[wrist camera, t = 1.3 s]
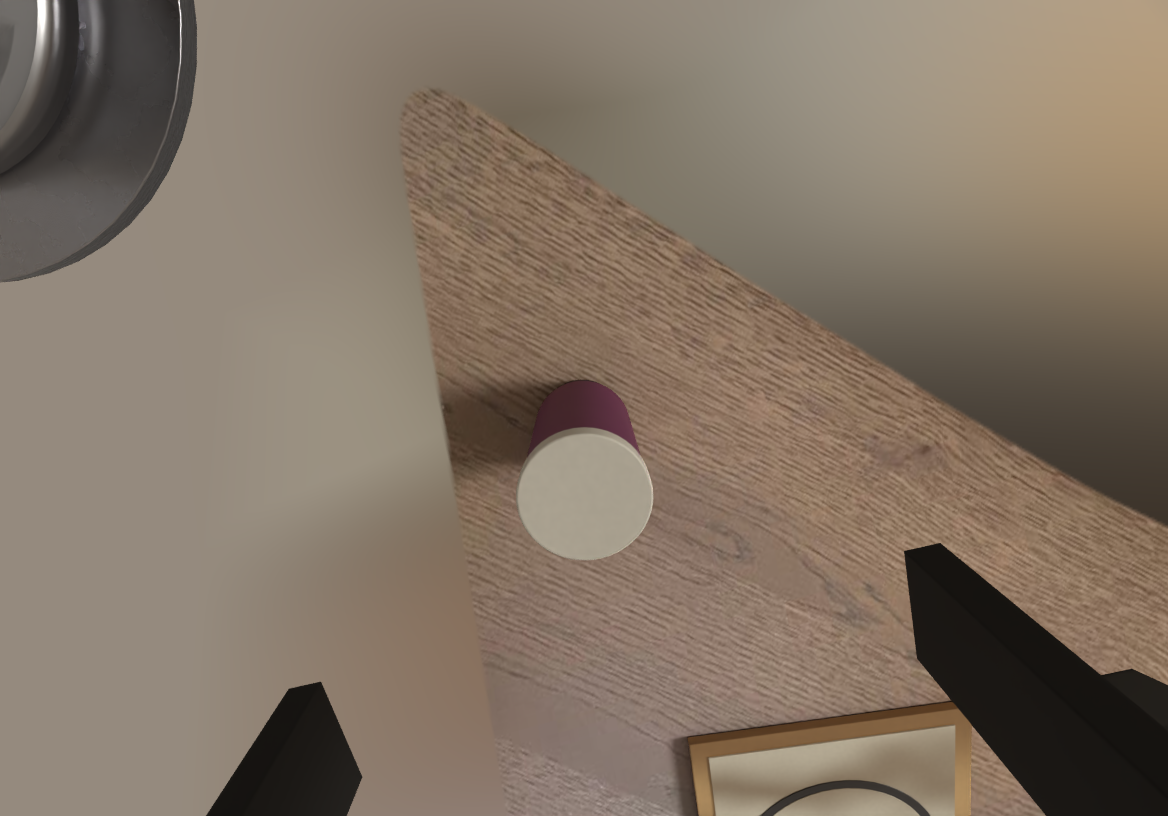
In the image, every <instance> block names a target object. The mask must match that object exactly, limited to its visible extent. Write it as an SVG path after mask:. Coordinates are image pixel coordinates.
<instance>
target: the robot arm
mask: <svg viewBox="0 0 1168 816" xmlns="http://www.w3.org/2000/svg"><path fill="white" fill-rule="evenodd" d="M78 42H79V10H78V1H77V0H0V174H1V173H3V172H5V171H7V170H8V169H10V168H11V167H13V166H14V165H16V164H17V163H19V162H20V161H21V160H22V159H24V158H25V157H26V156H27V155H28V154H29V153H31V152H32V151H33V150H34V149H35V148H36V146H37V145H38V144H39V143H40V142H41V141H42V140H43V139H44V138H45V136H46V135H47V133H48V132H49V130H50V129H51V128H52V126H53V125H54V123H55V121H56V119H57V118H58V116H59V114H60V112H61V110H62V108H63V106H64V103H65V101H66V98H67V96H68V93H69V91H70V87H71V83H72V80H73V76H74V72H75V67H76V61H77V55H78ZM904 554H905V563H906V571H907V579H908V587H909V596H910V604H911V612H912V621H913V629H914V637H915V645H916V654H917V659H918V660H919V661H920V663H921V664H922V665H923V666H924V667H925V669H926V670H927V671H928V672H929V674H930V675H931V676H932V677H933V678H934V680H935V681H936V682H937V683H938V684H939V686H940V687H941V688H942V689H943V691H944V692H945V693H946V694H947V695H948V697H949V698H950V699H951V700H952V702H953V703H954V704H955V705H956V706H957V708H958V709H959V710H960V711H961V712H962V714H963V715H964V716H965V717H966V719H967V720H968V721H969V722H970V723H971V725H972V726H973V727H974V728H975V730H976V731H977V732H978V733H979V734H980V736H981V737H982V738H983V739H984V740H985V742H986V743H987V744H988V745H989V747H990V748H991V749H992V750H993V751H994V753H995V754H996V755H997V756H998V758H999V759H1000V760H1001V761H1002V762H1003V764H1004V765H1005V766H1006V767H1007V768H1008V770H1009V771H1010V772H1011V773H1012V775H1013V776H1014V777H1015V778H1016V779H1017V781H1018V782H1019V783H1020V784H1021V786H1022V787H1023V788H1024V789H1025V790H1026V792H1027V793H1028V794H1029V795H1030V796H1031V798H1032V799H1033V800H1034V801H1035V803H1036V804H1037V805H1038V806H1039V807H1040V809H1041V810H1042V811H1043V812H1044V814H1045V815H1046V816H1168V685H1166V684H1164V683H1162V682H1160V681H1157V680H1155V679H1153V678H1151V677H1149V676H1147V675H1144V674H1142V673H1140V672H1138V671H1136V670H1133V669H1129V670H1124V671H1119V672H1114V673H1110V674H1105V675H1100V674H1099V673H1098V672H1096V671H1095V670H1094V669H1093V668H1092V667H1090V666H1089V665H1088V664H1087V663H1085V662H1084V661H1083V660H1082V659H1081V658H1079V657H1078V656H1077V655H1076V654H1075V653H1073V652H1072V651H1071V650H1070V649H1068V648H1067V647H1066V646H1065V645H1064V644H1062V643H1061V642H1060V641H1059V640H1058V639H1056V638H1055V637H1054V636H1053V635H1051V634H1050V633H1049V632H1048V631H1047V630H1045V629H1044V628H1043V627H1042V626H1040V625H1039V624H1038V623H1037V622H1036V621H1034V620H1033V619H1032V618H1031V617H1030V616H1028V615H1027V614H1026V613H1025V612H1023V611H1022V610H1021V609H1020V608H1019V607H1017V606H1016V605H1015V604H1014V603H1012V602H1011V601H1010V600H1009V599H1008V598H1006V597H1005V596H1004V595H1003V594H1002V593H1000V592H999V591H998V590H997V589H995V588H994V587H993V586H992V585H991V584H989V583H988V582H987V581H986V580H984V579H983V578H982V577H981V576H980V575H978V574H977V573H976V572H975V571H974V570H972V569H971V568H970V567H969V566H967V565H966V564H965V563H964V562H963V561H961V560H960V559H959V558H958V557H956V556H955V555H954V554H953V553H952V552H950V551H949V550H948V549H947V548H946V547H944V546H943V545H942V544H941V543H938V544H934V545H929V546H925V547H920V548H916V549H911V550H907V551H904ZM361 779H362V775H361V773H360V771H359V768H358V766H357V764H356V761H355V759H354V757H353V754H352V752H351V750H350V748H349V745H348V743H347V741H346V738H345V736H344V734H343V731H342V729H341V727H340V724H339V722H338V720H337V718H336V715H335V713H334V711H333V708H332V706H331V704H330V701H329V699H328V697H327V695H326V692H325V690H324V688H323V685H322V683H321V682H317V683H313V684H308V685H304V686H299V687H295V688H291V689H288V691H287V692H286V694H285V696H284V697H283V699H282V700H281V702H280V703H279V705H278V706H277V708H276V709H275V711H274V712H273V714H272V715H271V717H270V719H269V720H268V722H267V723H266V725H265V726H264V728H263V729H262V731H261V732H260V734H259V736H258V737H257V739H256V740H255V742H254V743H253V745H252V746H251V748H250V749H249V751H248V752H247V754H246V755H245V757H244V758H243V760H242V762H241V763H240V765H239V766H238V768H237V769H236V771H235V772H234V774H233V775H232V777H231V778H230V780H229V781H228V783H227V785H226V786H225V788H224V789H223V791H222V792H221V794H220V795H219V797H218V799H217V800H216V802H215V803H214V804H213V806H212V808H211V809H210V811H209V812H208V814H207V815H206V816H347V814H348V811H349V809H350V806H351V804H352V801H353V799H354V796H355V794H356V791H357V789H358V786H359V784H360V781H361Z"/></svg>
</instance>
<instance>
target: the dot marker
mask: <svg viewBox="0 0 1168 816" xmlns="http://www.w3.org/2000/svg"><path fill="white" fill-rule="evenodd" d="M516 504H517V510H518V513H519V517H520V519H521V522H522V524H523V526H524V527H525V529H526V531H527V532H528V533H529V534H530V536H531V537H532V538H533V539H534V540H535V541H536V542H537V543H538V544H539V545H541V546H542V547H543V548H545V549H546V550H548V551H550V552H552V553H554V554H556V555H559V556H561V557H565V558H568V559H574V560H595V559H600V558H604V557H607V556H610V555H613V554H615V553H617V552H619V551H621V550H622V549H624V548H625V547H627V546H628V545H629V544H631V543H632V542H633V541H634V540H635V539H636V538H637V537H638V536H639V534H640V533H641V532H642V530H643V529H644V527H645V525H646V523H647V522H648V519H649V517H650V514H651V510H652V505H653V487H652V482H651V478H650V475H649V472H648V469H647V467H646V464H645V462H644V461H643V459H642V457H641V455H640V452H639V449H638V445H637V442H636V439H635V435H634V432H633V428H632V425H631V422H630V418H629V415H628V412H627V409H626V407H625V405H624V403H623V402H622V400H621V399H620V398H619V397H618V396H617V395H616V393H614V392H613V391H612V390H611V389H609V388H607V387H606V386H603V385H601V384H599V383H597V382H594V381H589V380H576V381H571V382H569V383H566V384H564V385H562V386H560V387H558V388H557V389H555V390H554V391H553V392H551V393H550V394H549V395H548V396H547V398H546V399H545V400H544V401H543V403H542V405H541V406H540V409H539V411H538V414H537V418H536V422H535V426H534V430H533V434H532V438H531V442H530V447H529V451H528V455H527V459H526V461H525V462H524V465H523V467H522V469H521V472H520V476H519V479H518V483H517V490H516Z"/></svg>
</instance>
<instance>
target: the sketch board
mask: <svg viewBox="0 0 1168 816" xmlns="http://www.w3.org/2000/svg"><path fill="white" fill-rule="evenodd" d="M971 736H972V725H971V723H970V722H969V721H968V720H967V719H966V717H965V716H964V715H963V714H962V712H961V711H960V710H959V709H958V708H957V706H956V705H955V704H954V703H953V702H946V703H939V704H931V705H924V706H916V707H909V708H902V709H894V710H887V711H879V712H872V713H865V714H857V715H850V716H842V717H835V718H828V719H820V720H813V721H806V722H798V723H791V724H783V725H776V726H769V727H761V728H754V729H746V730H739V731H732V732H724V733H717V734H709V735H702V736H695V737H688V745H689V753H690V760H691V767H692V775H693V782H694V789H695V797H696V804H697V812H698V816H970V800H971Z"/></svg>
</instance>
